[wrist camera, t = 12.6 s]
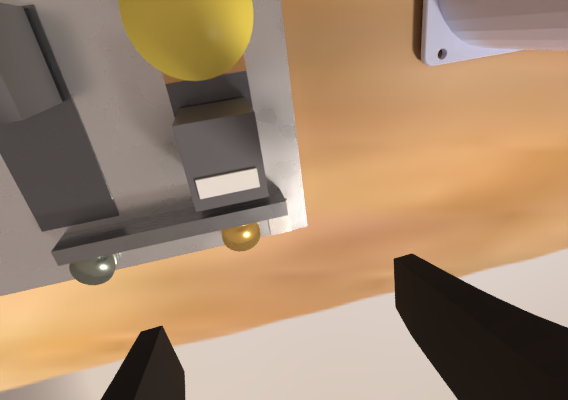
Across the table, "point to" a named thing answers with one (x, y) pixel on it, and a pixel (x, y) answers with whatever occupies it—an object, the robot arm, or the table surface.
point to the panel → (132, 153)
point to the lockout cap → (189, 34)
